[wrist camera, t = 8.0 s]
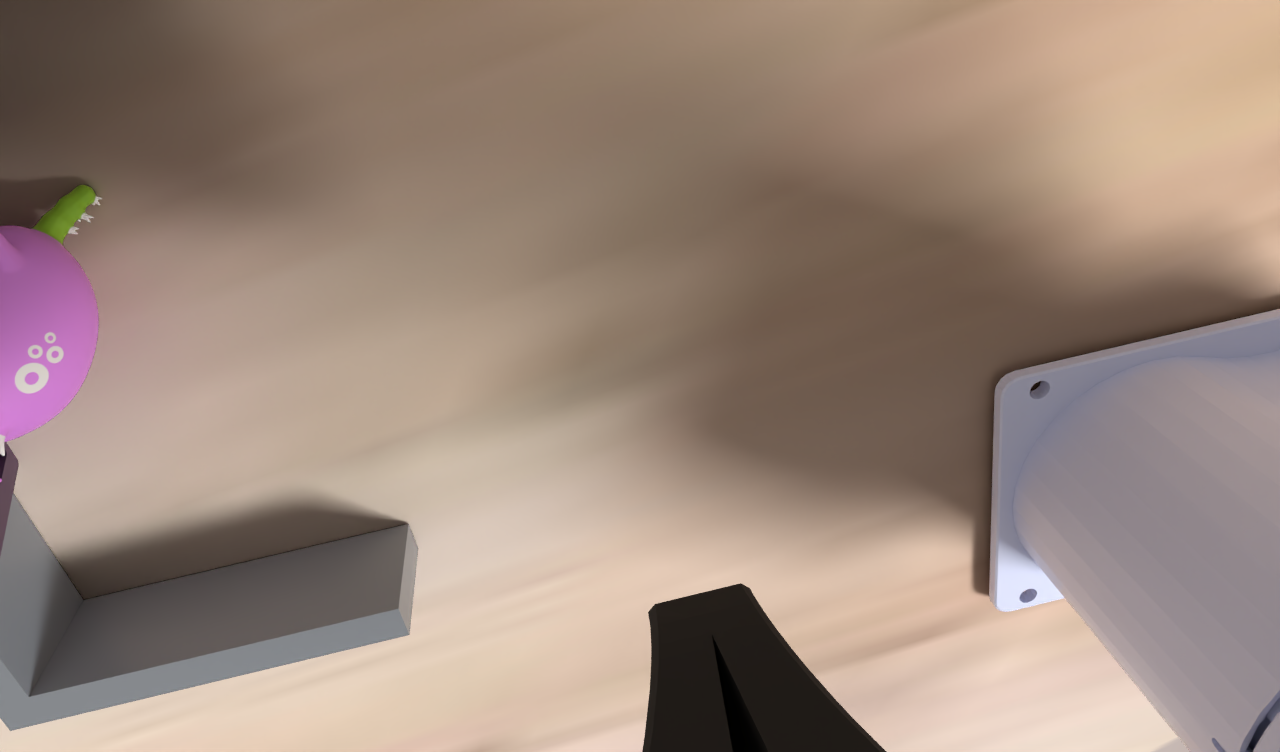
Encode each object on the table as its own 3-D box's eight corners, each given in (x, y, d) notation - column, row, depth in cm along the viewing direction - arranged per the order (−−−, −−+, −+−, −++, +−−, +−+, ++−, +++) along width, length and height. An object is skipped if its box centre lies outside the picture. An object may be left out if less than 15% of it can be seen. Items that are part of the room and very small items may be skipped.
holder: (166, -100, 15) (101, -97, 13) (418, 548, 23) (409, 634, 20) (-363, 5, 15) (-542, 30, 12) (66, 631, 22) (10, 730, 20)
